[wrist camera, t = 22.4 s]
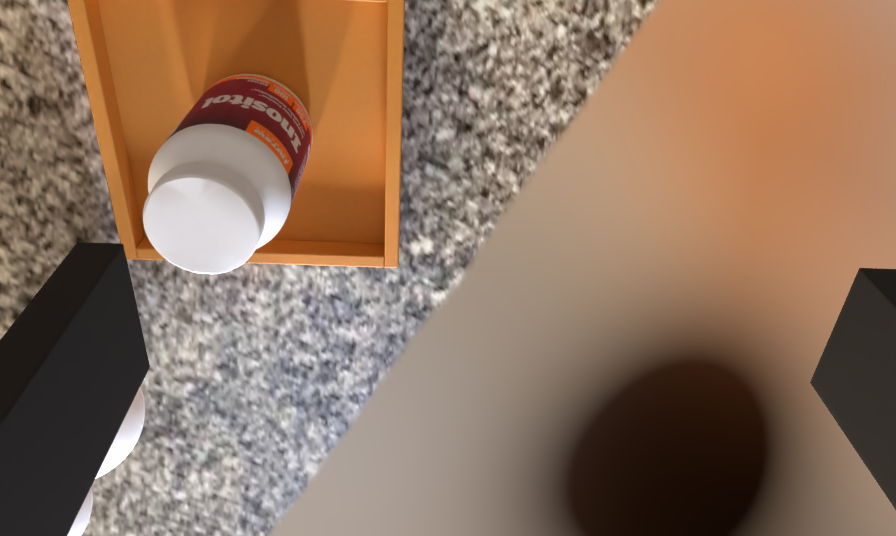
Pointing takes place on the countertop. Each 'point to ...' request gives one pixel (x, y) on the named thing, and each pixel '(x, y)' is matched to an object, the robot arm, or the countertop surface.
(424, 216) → the countertop surface
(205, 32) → the amber tray
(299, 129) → the pill bottle
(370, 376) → the countertop surface
